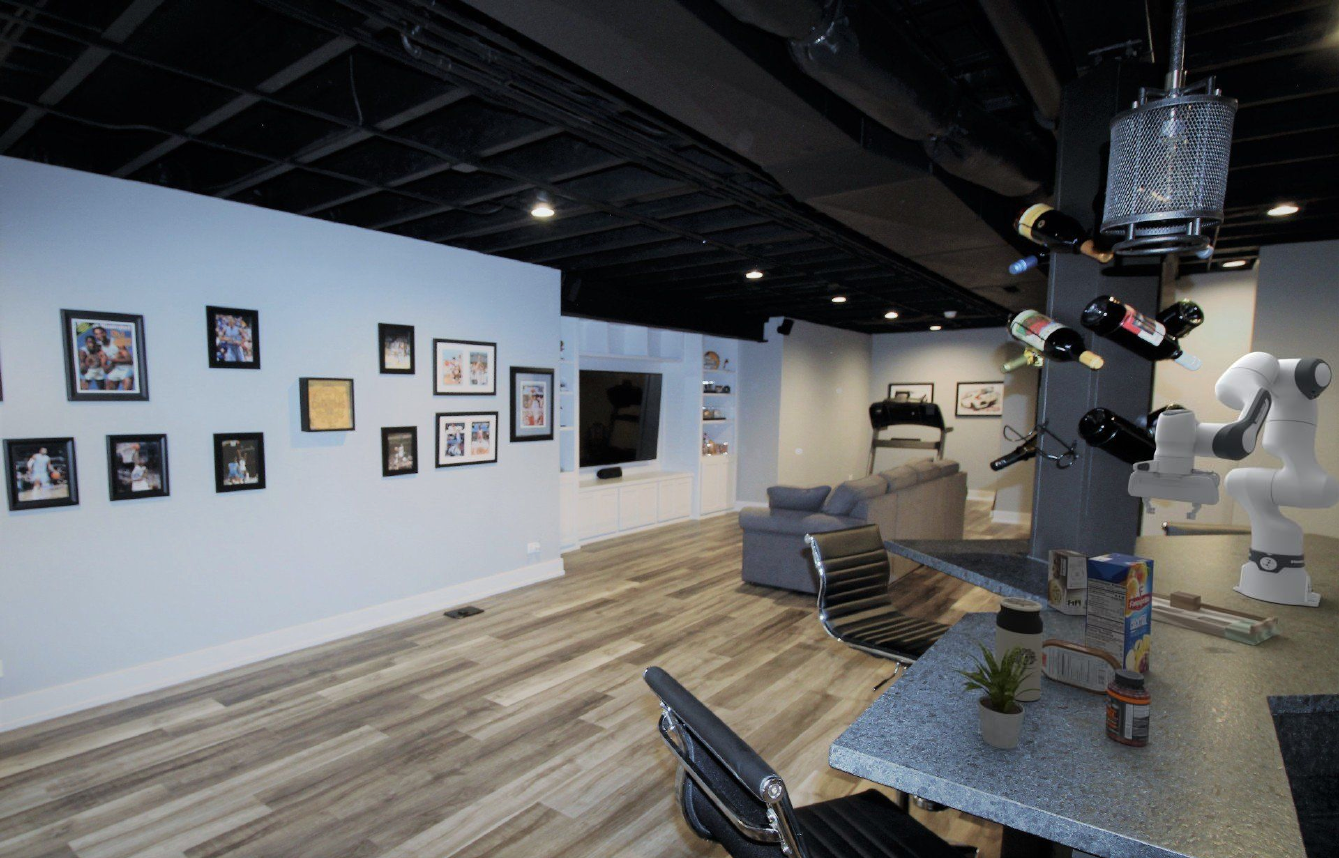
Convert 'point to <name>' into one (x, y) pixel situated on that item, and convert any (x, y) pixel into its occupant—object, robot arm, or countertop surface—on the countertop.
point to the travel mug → (1021, 641)
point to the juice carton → (1120, 608)
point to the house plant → (999, 698)
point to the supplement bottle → (1128, 708)
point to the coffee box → (1067, 581)
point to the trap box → (1216, 620)
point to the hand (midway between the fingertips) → (1170, 516)
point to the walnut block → (1185, 601)
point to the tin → (1078, 665)
